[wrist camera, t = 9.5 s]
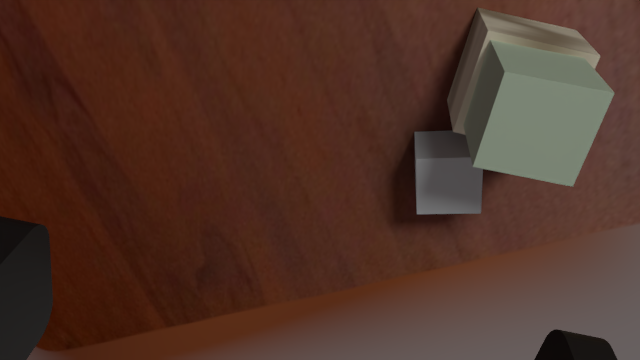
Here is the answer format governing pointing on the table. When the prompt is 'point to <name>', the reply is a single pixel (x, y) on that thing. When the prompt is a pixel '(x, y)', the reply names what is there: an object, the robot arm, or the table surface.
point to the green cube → (534, 113)
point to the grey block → (446, 174)
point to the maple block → (512, 32)
